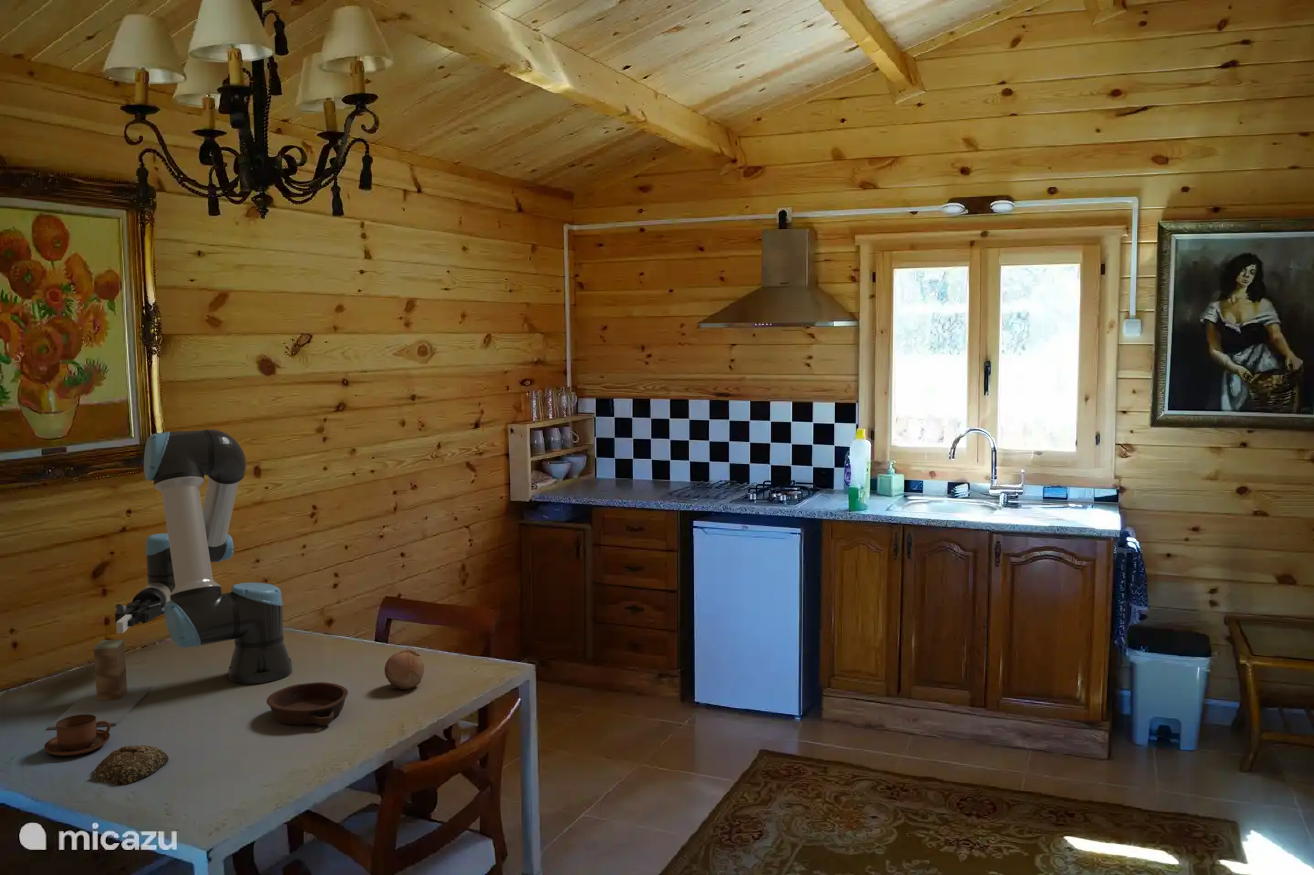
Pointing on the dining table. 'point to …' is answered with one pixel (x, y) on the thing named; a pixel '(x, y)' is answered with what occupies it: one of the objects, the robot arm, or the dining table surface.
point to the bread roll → (130, 764)
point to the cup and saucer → (77, 736)
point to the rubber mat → (105, 706)
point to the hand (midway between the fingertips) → (119, 627)
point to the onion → (404, 669)
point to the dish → (308, 703)
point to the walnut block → (110, 669)
